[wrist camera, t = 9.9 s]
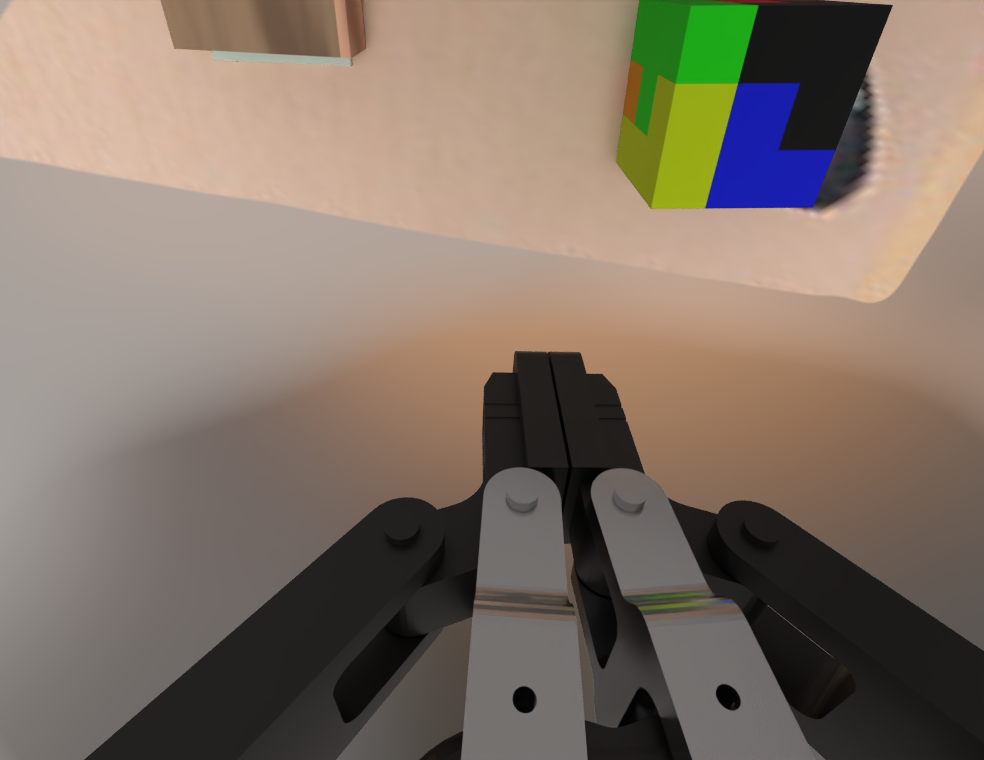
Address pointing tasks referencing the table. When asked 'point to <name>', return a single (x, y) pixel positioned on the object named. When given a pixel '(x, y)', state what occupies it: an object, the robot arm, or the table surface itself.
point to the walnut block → (268, 26)
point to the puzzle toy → (741, 98)
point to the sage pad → (279, 58)
